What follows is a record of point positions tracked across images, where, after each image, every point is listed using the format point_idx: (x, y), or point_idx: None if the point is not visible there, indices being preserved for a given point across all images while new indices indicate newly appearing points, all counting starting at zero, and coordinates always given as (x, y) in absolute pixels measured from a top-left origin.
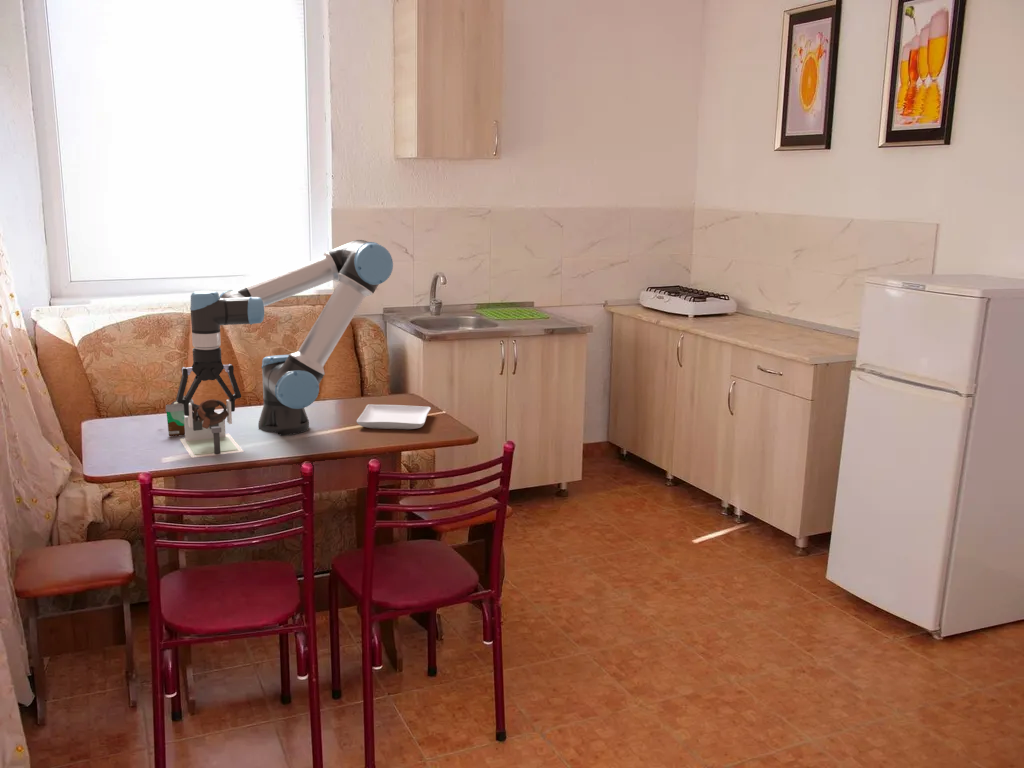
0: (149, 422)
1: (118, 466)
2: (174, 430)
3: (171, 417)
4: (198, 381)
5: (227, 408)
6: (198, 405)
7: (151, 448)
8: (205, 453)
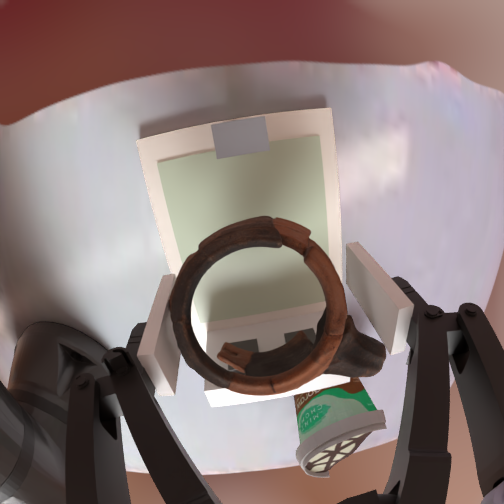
0: None
1: (487, 143)
2: None
3: (361, 401)
4: (432, 464)
5: (172, 343)
6: (333, 366)
7: (411, 279)
8: (280, 139)
